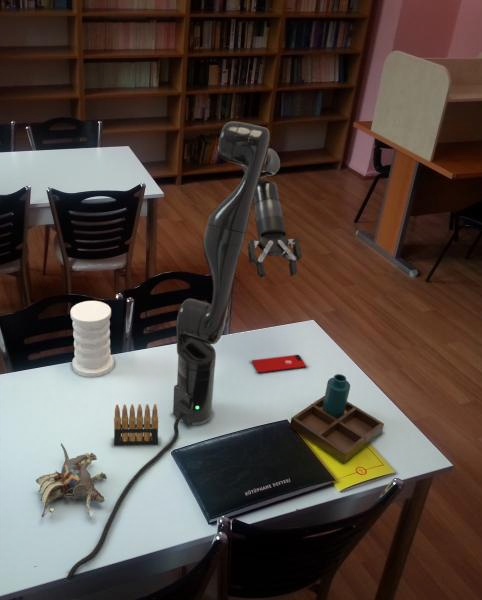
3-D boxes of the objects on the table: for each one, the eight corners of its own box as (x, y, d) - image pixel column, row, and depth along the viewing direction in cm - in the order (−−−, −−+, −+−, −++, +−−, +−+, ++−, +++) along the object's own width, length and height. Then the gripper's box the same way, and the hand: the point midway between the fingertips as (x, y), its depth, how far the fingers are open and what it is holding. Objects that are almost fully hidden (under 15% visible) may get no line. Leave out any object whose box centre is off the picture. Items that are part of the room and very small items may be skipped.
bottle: (335, 422, 159) (342, 387, 153) (317, 411, 162) (324, 376, 156) (348, 413, 162) (355, 378, 156) (330, 402, 165) (337, 368, 160)
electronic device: (258, 373, 176) (306, 367, 180) (258, 371, 176) (306, 365, 180) (251, 361, 181) (298, 355, 185) (251, 360, 181) (298, 354, 185)
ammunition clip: (113, 445, 148) (112, 407, 142) (114, 440, 149) (113, 401, 143) (158, 444, 149) (159, 406, 143) (158, 439, 150) (158, 401, 144)
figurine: (127, 483, 131) (59, 527, 120) (126, 501, 134) (60, 545, 124) (73, 430, 142) (7, 466, 132) (74, 448, 146) (9, 484, 135)
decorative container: (80, 350, 181) (77, 297, 172) (118, 355, 180) (117, 303, 171) (66, 373, 171) (62, 319, 162) (106, 379, 170) (105, 324, 161)
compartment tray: (343, 463, 147) (345, 454, 146) (289, 426, 157) (291, 417, 156) (381, 432, 157) (384, 423, 156) (329, 400, 168) (330, 391, 166)
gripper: (248, 215, 161) (256, 274, 158) (298, 213, 165) (308, 270, 161) (240, 225, 169) (249, 282, 165) (289, 223, 172) (298, 279, 168)
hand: (278, 276), depth 163 cm, fingers open, 8 cm apart
